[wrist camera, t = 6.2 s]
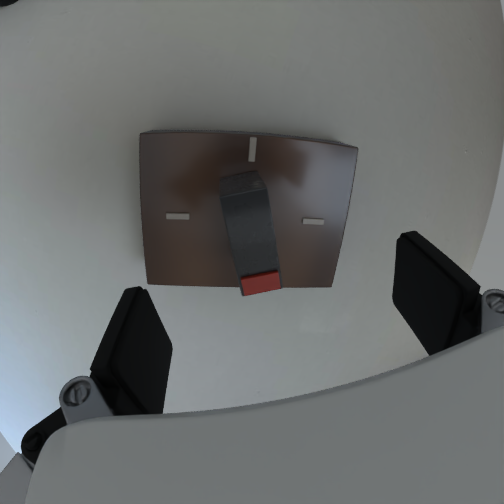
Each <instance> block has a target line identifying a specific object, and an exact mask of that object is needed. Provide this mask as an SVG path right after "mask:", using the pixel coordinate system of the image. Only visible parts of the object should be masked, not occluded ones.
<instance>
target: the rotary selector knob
mask: <svg viewBox="0 0 504 504" xmlns="http://www.w3.org/2000/svg"><path fill="white" fill-rule="evenodd" d="M219 199H220V204H221V208H222V213H223V217H224V221H225V226H226V230H227V235H228V239H229V243H230V247H231V252H232V256H233V260H234V265H235V269H236V273H237V277H238V281H239V286H240V290H241V294H242V296H247V295H252V294H257V293H262V292H267V291H272V290H277V289H281V288H283V284H282V277H281V270H280V264H279V257H278V250H277V244H276V237H275V231H274V225H273V218H272V212H271V206H270V200H269V194H268V188H267V186H266V185H265V183H264V181H263V180H262V178H261V177H260V175H259V173H258V172H257V171H253V172H248V173H243V174H238V175H233V176H228V177H223V178H220V188H219Z"/></svg>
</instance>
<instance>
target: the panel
mask: <svg viewBox="0 0 504 504" xmlns="http://www.w3.org/2000/svg"><path fill="white" fill-rule="evenodd" d="M357 155H358V148H357V147H355V146H351V145H348V144H345V143H341V142H336V141H329V140H322V139H315V138H307V137H299V136H290V135H280V134H270V133H257V132H242V131H222V130H151V131H147V132H143V133H140V143H139V163H140V200H141V219H142V233H143V246H144V257H145V267H146V276H147V283H148V284H151V285H176V286H209V287H240V286H239V281H238V277H237V273H236V269H235V265H234V260H233V256H232V252H231V247H230V243H229V239H228V235H227V230H226V226H225V221H224V217H223V213H222V208H221V204H220V199H219V188H220V178H223V177H228V176H233V175H238V174H243V173H248V172H253V171H257V172H258V173H259V175H260V177H261V178H262V180H263V181H264V183H265V185H266V186H267V188H268V194H269V200H270V206H271V212H272V218H273V225H274V231H275V237H276V244H277V250H278V257H279V264H280V270H281V277H282V284H283V288H308V287H332V283H333V279H334V275H335V270H336V266H337V262H338V257H339V253H340V248H341V244H342V239H343V234H344V229H345V224H346V219H347V214H348V209H349V203H350V198H351V192H352V187H353V181H354V174H355V168H356V162H357Z"/></svg>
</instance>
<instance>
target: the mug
mask: <svg viewBox="0 0 504 504" xmlns="http://www.w3.org/2000/svg"><path fill="white" fill-rule="evenodd" d="M16 1H18V0H0V6H7V5H9V4H12V3H14V2H16Z"/></svg>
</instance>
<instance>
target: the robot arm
mask: <svg viewBox="0 0 504 504" xmlns="http://www.w3.org/2000/svg"><path fill="white" fill-rule="evenodd" d="M479 291H480V285H478V284H477V283H476V282H475V281H474V280H473V279H472V278H471V277H470V276H469V275H468V274H467V273H466V272H464V271H463V270H462V269H461V268H460V267H459V266H458V265H456V264H455V263H454V262H453V261H452V260H451V259H450V258H448V257H447V256H446V255H445V254H444V253H443V252H441V251H440V250H439V249H438V248H437V247H435V246H434V245H433V244H432V243H430V242H429V241H428V240H427V239H425V238H424V237H423V236H422V235H420V234H419V233H418V232H417V231H410V232H406V233H402V234H401V235H400V238H398V239H397V244H396V260H395V273H394V284H393V294H392V299H393V303H394V305H395V306H396V308H397V309H398V311H399V312H400V313H401V315H402V316H403V318H404V319H405V320H406V322H407V323H408V325H409V326H410V328H411V329H412V330H413V332H414V333H415V335H416V336H417V338H418V339H419V341H420V342H421V344H422V345H423V347H424V348H425V350H426V351H427V353H428V354H429V356H428V357H426V358H423V359H421V360H418V361H415V362H413V363H410V364H407V365H405V366H402V367H399V368H396V369H393V370H390V371H387V372H384V373H381V374H378V375H375V376H372V377H368V378H365V379H362V380H359V381H355V382H352V383H348V384H345V385H341V386H337V387H333V388H329V389H326V390H321V391H317V392H313V393H309V394H304V395H300V396H295V397H290V398H285V399H280V400H275V401H269V402H264V403H258V404H252V405H245V406H238V407H231V408H223V409H214V410H205V411H194V412H181V413H168V414H163V408H164V401H165V394H166V388H167V381H168V375H169V369H170V363H171V357H172V351H173V348H172V343H171V341H170V339H169V336H168V334H167V332H166V330H165V328H164V326H163V324H162V322H161V320H160V317H159V315H158V313H157V311H156V309H155V307H154V304H153V302H152V300H151V297H150V295H149V293H148V291H147V290H146V289H143V288H142V287H140V286H138V287H132V288H127V289H125V290H124V293H123V295H122V297H121V299H120V301H119V303H118V305H117V307H116V309H115V312H114V314H113V316H112V318H111V320H110V322H109V325H108V327H107V329H106V331H105V334H104V336H103V338H102V341H101V343H100V345H99V348H98V350H97V352H96V355H95V357H94V360H93V362H92V365H91V367H90V370H91V371H92V372H91V374H90V377H88V376H78V377H75V378H73V379H71V380H70V381H69V382H67V383H66V384H65V385H64V387H63V388H62V390H61V392H60V396H59V402H60V406H61V407H60V408H59V409H57V410H56V411H55V412H53V413H52V414H50V415H49V416H48V417H46V418H45V419H43V420H42V421H41V422H39V423H38V424H36V425H35V426H33V427H32V428H31V429H29V430H28V431H27V432H26V434H25V435H24V437H23V439H22V442H21V450H22V454H20V453H19V452H17V454H16V455H15V456H14V457H13V458H12V460H11V461H10V462H9V463H8V465H7V466H6V467H5V468H4V470H3V471H2V472H1V473H0V504H504V291H502V290H499V289H490V290H487V291H485V292H484V293H483V295H481V294H480V293H479Z"/></svg>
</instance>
